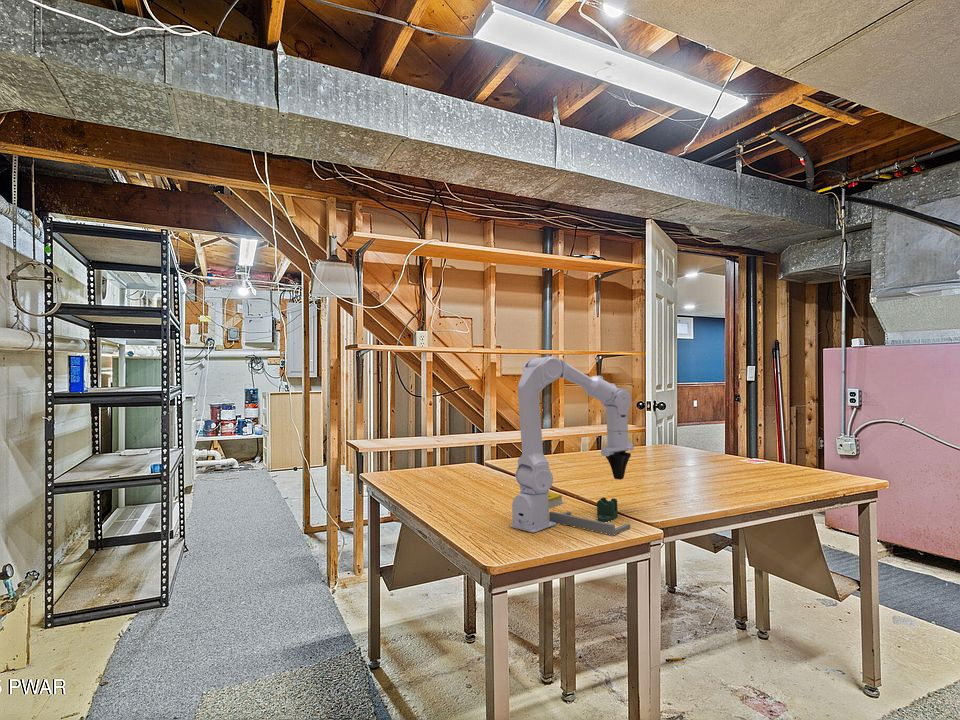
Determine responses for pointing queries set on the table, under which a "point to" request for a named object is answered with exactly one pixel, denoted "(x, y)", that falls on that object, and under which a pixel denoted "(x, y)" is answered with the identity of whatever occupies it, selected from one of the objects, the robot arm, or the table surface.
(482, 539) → the table surface
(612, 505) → the mount
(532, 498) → the robot arm
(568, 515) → the u-shaped gray bracket
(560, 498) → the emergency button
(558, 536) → the table surface
